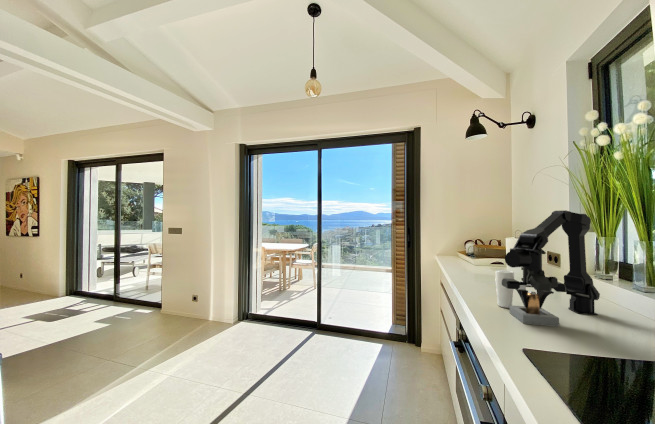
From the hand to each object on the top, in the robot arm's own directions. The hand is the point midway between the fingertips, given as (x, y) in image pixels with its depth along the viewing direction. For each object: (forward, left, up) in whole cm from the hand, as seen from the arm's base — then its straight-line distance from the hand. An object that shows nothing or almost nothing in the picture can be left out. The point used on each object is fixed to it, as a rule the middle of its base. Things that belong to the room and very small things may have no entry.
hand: (532, 308), depth 99 cm
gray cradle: (0, 0, -4) cm, 4 cm away
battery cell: (0, 0, -2) cm, 2 cm away
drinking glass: (+4, -14, -4) cm, 15 cm away
